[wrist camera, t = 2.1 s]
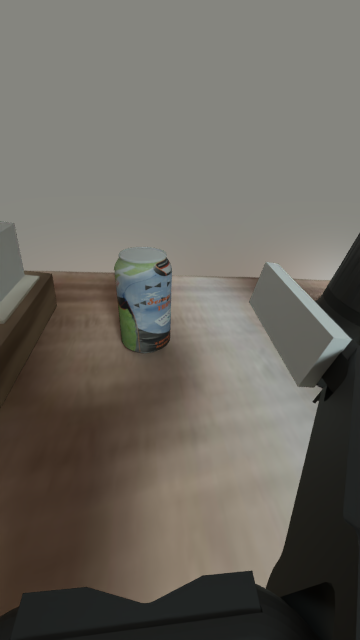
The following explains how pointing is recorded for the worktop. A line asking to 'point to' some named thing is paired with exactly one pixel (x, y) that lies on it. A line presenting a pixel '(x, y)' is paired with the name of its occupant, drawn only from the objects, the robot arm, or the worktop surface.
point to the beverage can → (144, 298)
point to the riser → (23, 324)
